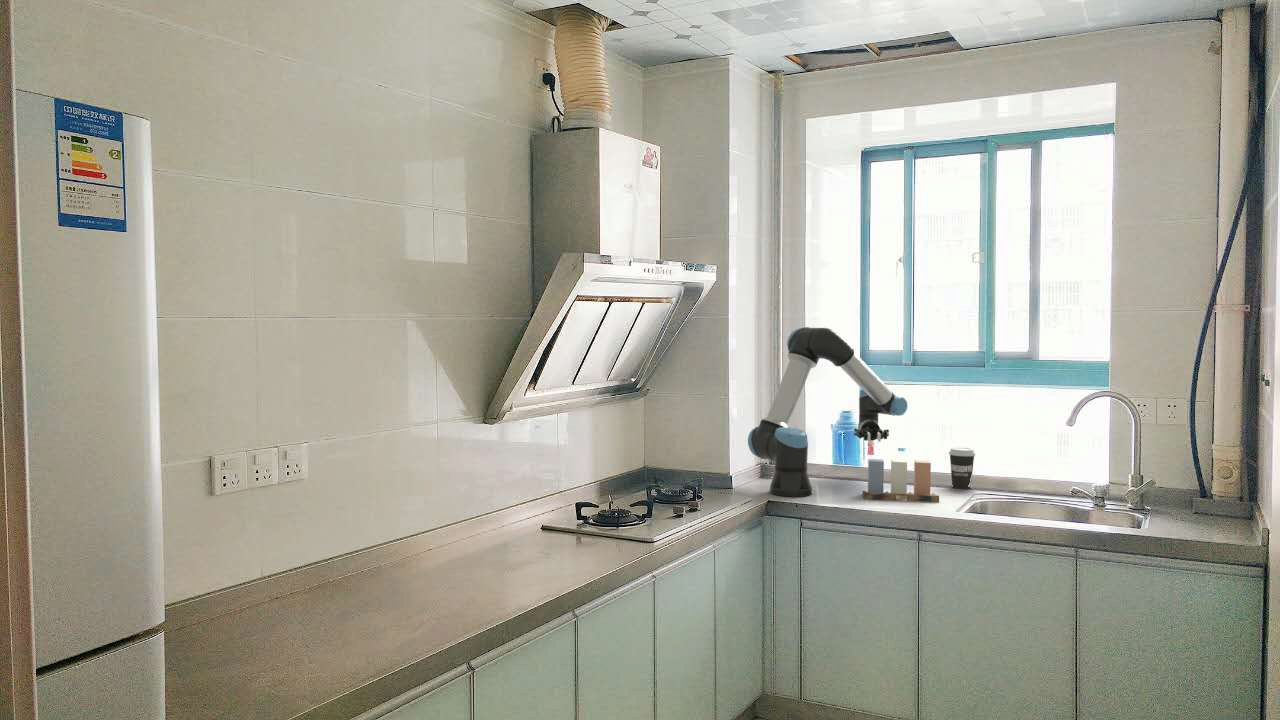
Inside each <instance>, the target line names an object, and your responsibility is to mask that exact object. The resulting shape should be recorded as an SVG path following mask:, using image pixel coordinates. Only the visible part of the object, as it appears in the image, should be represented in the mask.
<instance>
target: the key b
mask: <svg viewBox="0 0 1280 720" xmlns="http://www.w3.org/2000/svg"><path fill="white" fill-rule="evenodd" d="M890 462H891V463H890V492H891V493H895V494H907V493H908V492H907V491H908V461H907V460H906V459H890Z"/></svg>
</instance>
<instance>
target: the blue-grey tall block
mask: <svg viewBox="0 0 1280 720" xmlns="http://www.w3.org/2000/svg"><path fill="white" fill-rule="evenodd" d="M867 463H868V464H867V466H868V467H867V475H868V476H867V491H868V493H883V492H884V475H885V473H884V471H885V469H884V467H885V464H884V463H885V461H884V460H883V459H878V458H868V462H867Z"/></svg>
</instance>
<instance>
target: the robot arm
mask: <svg viewBox="0 0 1280 720" xmlns="http://www.w3.org/2000/svg"><path fill="white" fill-rule="evenodd" d="M786 341H787V342H786V346H787V351H788V353H787V358H788V360H789V361H788V363H787V366H786V369H785V371H784V374H783V376H782V378H781V380H780V384H779V385H778V388H777V391H776V394H775V396H774V399H773V401H772V404H771V406H770V408H769V411H768V413H767V416H766V417H764V418H762V419H761V420H760V422H759V425H758V426H756V427H754V428H752V429H751V431H750V432H749V434H748V437H747V445H748V449H749V451H750V452H751V454H752V455H754V456H755V457H757V458H760V459H762V460H768V461H773V462H774V472H773V476H772V479H771V482H770V486H769V493H770V494H771V493H772V495H774V494H775V495H776V496H779V495H780V496H779V497H789V498H790V497H792V498H793V497H794V498H795V497H798V498H799V497H807V496H811V495H812V493H813V488H812V484H811V481H810V480H811V479H810V477H809V475H808V455H809V454H808V450H809V449H808V448H809V447H808V446H809V445H808V444H809V439H808V434H807V433H806V431H805V430H803V429H800V428H796V427H789V424H790V421H791V418H792V417H793V414H794V411H795V409H796V406H797V404H798V402H799V399H800V396H801V394H802V392H803V389H804V387H805V384H806V381H807V379H808V377H809V374H810V372H811V370H812V369H814V368H816V367H817V365H818V362H819V360H820V359H823V360H827V361H829V362H831V363H832V364H833V365H834V366H836V367H840V368H841V370H843V371H844V373H846V374H847V375H848V376H849V378H850V379H852V380H853V381H854V383H855V384H856V385H858V386H859V387H860V390H859V397H858V401H859V402H858V405H859V406H858V408H859V409H858V410H859V411H858V423H857V425H858V426H857V428H854V429H853V435H854V436H856V437H857V438H858V439H863V441H867V442H871V441H875V440H877V442H879V443H880V442H881V440H883V439H884V440H887V439H888V437H889V436H890V429H881V427H880V425H879V415H880V414H882V415H890V416H893V417H894V416H896V417H897V416H903V415H904V414H906V411H907V410H908V401H907V399H906V398H905V397H903V396H900V395H896V394H895V393H894V392H893V391H892V390H891V389H890V388H889V387H888V386H887V385H886V384H885V383H884V382H883V381H882V380H881V379H880V378H879V377H878V375H876V374H875V372H874V371H873V370H872V369H871V368H870V367H869V366H868V365H867V364H866V363H865V362H864V361H863V360H862V359H861V358H860V357H859V356H858V355H857V354H856V349H855V347H854V346H853V345H852V344H851V343H850V342H849V341H847V340H846V339H845V337H844V336H842V335H841V334H839V333H838V332H837V331H835V330H833V329H831V328H827V327H809V326H807V327H799V328H796V329H794V330H793V331H792V332H791V333H790V334H789V336H788V337H787V340H786ZM775 495H774V496H775Z"/></svg>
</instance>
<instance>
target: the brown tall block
mask: <svg viewBox="0 0 1280 720" xmlns="http://www.w3.org/2000/svg"><path fill="white" fill-rule="evenodd" d="M913 462H914V464H913V465H914V466H913V470H914V471H913V493H914V494H922V495H930V494H931V479H932V478H931V471H932V470H931V469H932V466H931V465H932V464H931V463H932V462H930V461H929V460H919V459H918V460H916V459H914V461H913Z"/></svg>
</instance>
